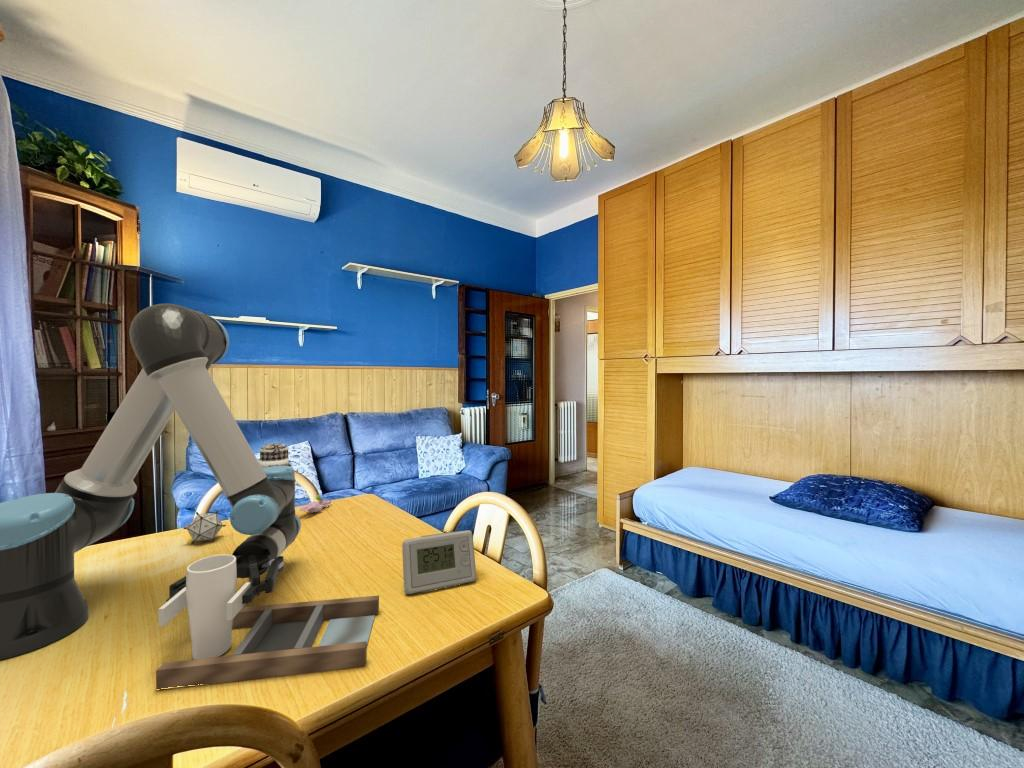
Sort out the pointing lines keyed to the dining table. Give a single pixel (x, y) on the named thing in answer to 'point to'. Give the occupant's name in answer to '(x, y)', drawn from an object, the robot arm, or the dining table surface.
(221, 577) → the drinking glass
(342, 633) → the brown wooden divided tray
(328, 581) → the dining table surface
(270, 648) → the tray
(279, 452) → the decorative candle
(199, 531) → the game die
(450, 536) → the digital clock
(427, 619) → the dining table surface
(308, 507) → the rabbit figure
